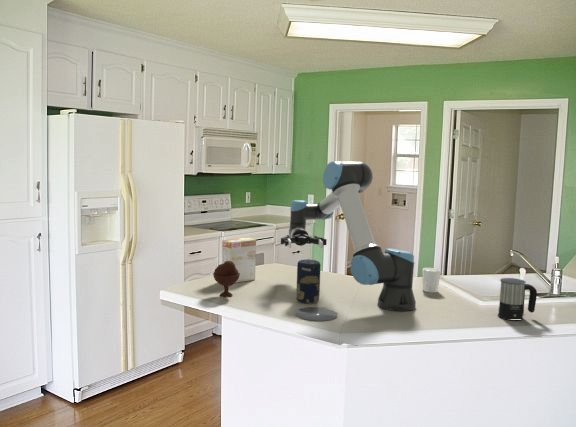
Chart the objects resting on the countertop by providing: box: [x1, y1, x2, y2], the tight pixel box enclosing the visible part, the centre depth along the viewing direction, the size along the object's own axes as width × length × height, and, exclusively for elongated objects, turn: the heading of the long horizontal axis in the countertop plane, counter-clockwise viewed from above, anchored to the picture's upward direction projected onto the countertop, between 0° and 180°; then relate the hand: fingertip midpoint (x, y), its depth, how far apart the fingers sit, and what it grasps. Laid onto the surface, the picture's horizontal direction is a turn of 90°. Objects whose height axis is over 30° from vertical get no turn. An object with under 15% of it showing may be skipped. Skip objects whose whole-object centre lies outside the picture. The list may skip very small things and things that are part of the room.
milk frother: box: [497, 277, 538, 320], centre depth 216 cm, size 14×16×15 cm
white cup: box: [421, 267, 441, 294], centre depth 250 cm, size 8×8×10 cm
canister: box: [295, 258, 321, 304], centre depth 224 cm, size 10×10×18 cm
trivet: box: [294, 306, 338, 322], centre depth 207 cm, size 16×16×1 cm
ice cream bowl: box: [212, 261, 240, 298], centre depth 229 cm, size 11×11×15 cm
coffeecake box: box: [221, 237, 257, 284], centre depth 255 cm, size 15×7×20 cm, turn 130°
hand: (306, 244), depth 232 cm, fingers open, 13 cm apart
